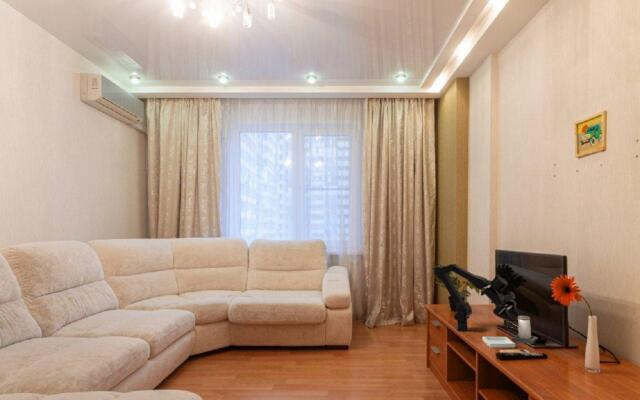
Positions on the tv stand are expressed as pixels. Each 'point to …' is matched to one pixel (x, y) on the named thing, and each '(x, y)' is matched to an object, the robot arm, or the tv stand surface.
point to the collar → (523, 341)
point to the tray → (498, 342)
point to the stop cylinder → (524, 327)
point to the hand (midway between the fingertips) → (517, 320)
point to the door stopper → (509, 324)
